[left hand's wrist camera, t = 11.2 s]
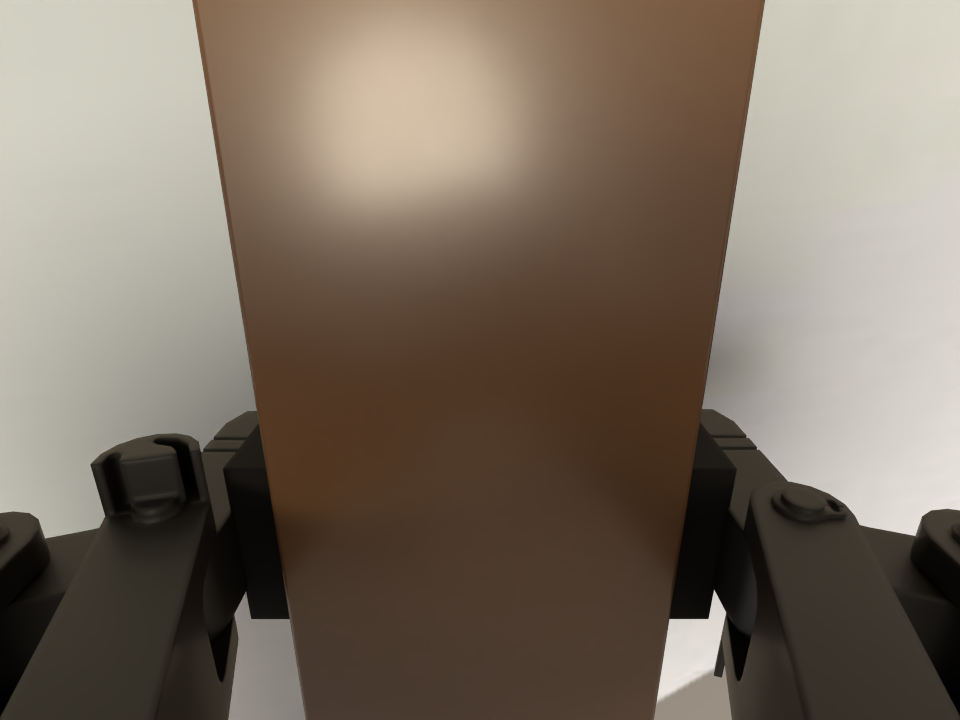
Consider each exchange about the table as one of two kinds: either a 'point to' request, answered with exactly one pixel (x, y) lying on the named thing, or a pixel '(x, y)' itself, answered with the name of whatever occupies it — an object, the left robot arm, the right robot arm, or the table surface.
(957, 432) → the table surface
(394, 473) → the bar
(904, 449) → the table surface
